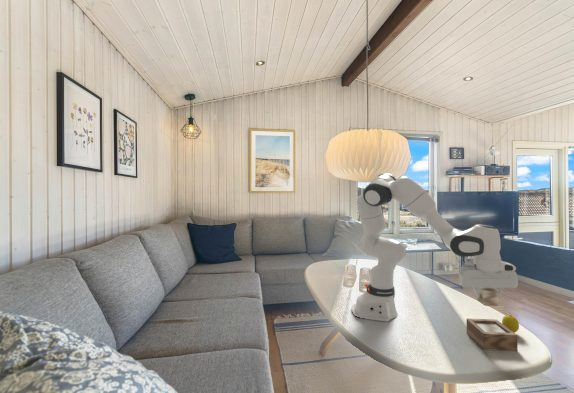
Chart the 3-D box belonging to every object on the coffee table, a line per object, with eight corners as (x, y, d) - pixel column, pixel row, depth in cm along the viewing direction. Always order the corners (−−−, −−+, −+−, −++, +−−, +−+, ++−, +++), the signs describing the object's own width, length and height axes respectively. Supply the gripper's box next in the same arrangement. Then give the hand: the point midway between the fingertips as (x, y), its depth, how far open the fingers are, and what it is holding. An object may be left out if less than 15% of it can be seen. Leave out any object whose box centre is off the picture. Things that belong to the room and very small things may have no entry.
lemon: (501, 333, 112) (501, 315, 112) (503, 328, 116) (502, 310, 116) (518, 338, 108) (518, 319, 108) (519, 332, 112) (519, 314, 112)
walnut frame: (483, 349, 101) (483, 333, 101) (466, 332, 113) (466, 318, 113) (517, 350, 100) (517, 335, 100) (496, 333, 112) (496, 319, 112)
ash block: (484, 305, 104) (484, 290, 103) (477, 300, 109) (477, 286, 108) (498, 305, 103) (498, 291, 103) (490, 300, 108) (490, 286, 107)
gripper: (462, 266, 104) (463, 300, 104) (520, 266, 100) (521, 301, 101) (455, 262, 110) (456, 294, 110) (509, 262, 107) (510, 295, 107)
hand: (487, 297), depth 106 cm, fingers closed on ash block, 5 cm apart
